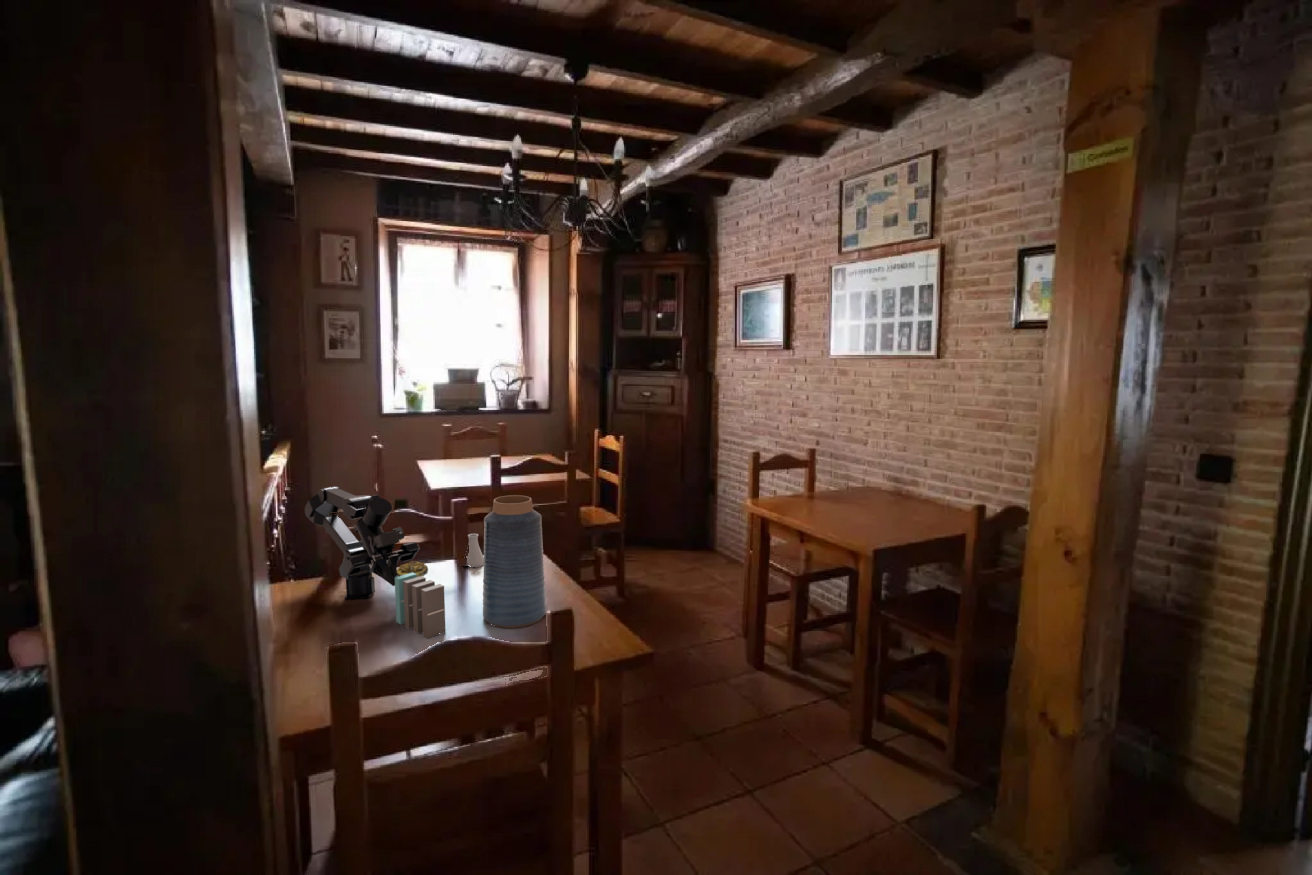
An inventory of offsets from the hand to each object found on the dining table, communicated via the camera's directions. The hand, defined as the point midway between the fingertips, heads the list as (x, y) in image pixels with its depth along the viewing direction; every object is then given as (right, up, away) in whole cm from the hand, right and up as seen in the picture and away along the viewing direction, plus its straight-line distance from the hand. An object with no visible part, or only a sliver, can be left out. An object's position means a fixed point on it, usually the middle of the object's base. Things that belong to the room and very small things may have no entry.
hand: (395, 585), depth 172 cm
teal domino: (+4, -9, -2) cm, 10 cm away
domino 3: (+14, -10, -10) cm, 20 cm away
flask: (+9, -3, +41) cm, 42 cm away
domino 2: (+11, -9, -8) cm, 16 cm away
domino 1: (+7, -9, -5) cm, 13 cm away
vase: (+31, -9, +1) cm, 32 cm away
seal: (-8, -4, +34) cm, 35 cm away
